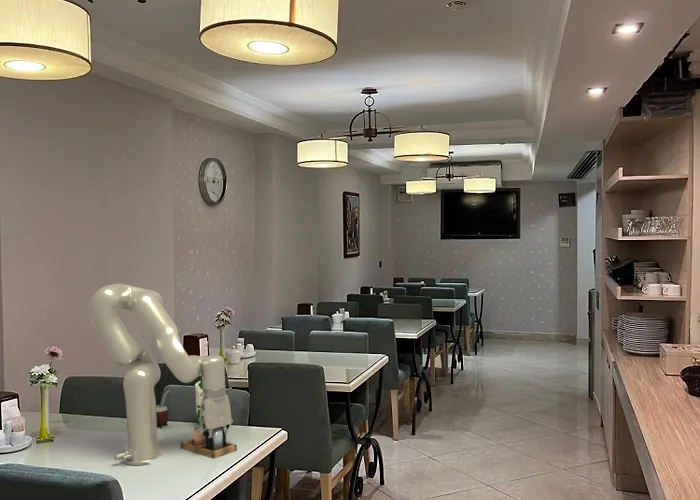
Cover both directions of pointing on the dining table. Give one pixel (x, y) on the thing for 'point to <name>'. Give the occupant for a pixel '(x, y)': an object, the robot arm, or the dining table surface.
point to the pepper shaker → (198, 437)
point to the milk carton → (198, 398)
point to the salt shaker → (217, 438)
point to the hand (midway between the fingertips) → (216, 446)
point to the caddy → (207, 452)
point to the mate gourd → (162, 414)
